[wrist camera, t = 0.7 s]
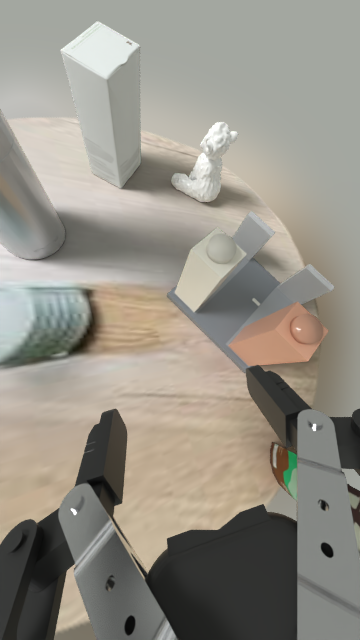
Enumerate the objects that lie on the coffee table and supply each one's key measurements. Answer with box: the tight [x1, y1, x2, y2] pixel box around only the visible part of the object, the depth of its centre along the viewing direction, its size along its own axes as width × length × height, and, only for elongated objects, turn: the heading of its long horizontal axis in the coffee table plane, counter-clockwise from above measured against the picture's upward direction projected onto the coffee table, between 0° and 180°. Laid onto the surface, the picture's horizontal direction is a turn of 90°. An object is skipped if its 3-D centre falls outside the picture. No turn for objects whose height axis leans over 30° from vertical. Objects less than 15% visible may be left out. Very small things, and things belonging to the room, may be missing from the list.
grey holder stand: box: [167, 211, 334, 373], centre depth 32 cm, size 18×17×8 cm
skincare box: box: [61, 21, 141, 189], centre depth 32 cm, size 8×7×16 cm
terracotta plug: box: [228, 301, 328, 366], centre depth 26 cm, size 4×4×13 cm
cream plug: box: [175, 227, 247, 312], centre depth 27 cm, size 4×4×13 cm
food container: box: [270, 442, 360, 558], centre depth 25 cm, size 12×6×10 cm, turn 61°
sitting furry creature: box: [171, 122, 238, 202], centre depth 36 cm, size 10×9×12 cm
